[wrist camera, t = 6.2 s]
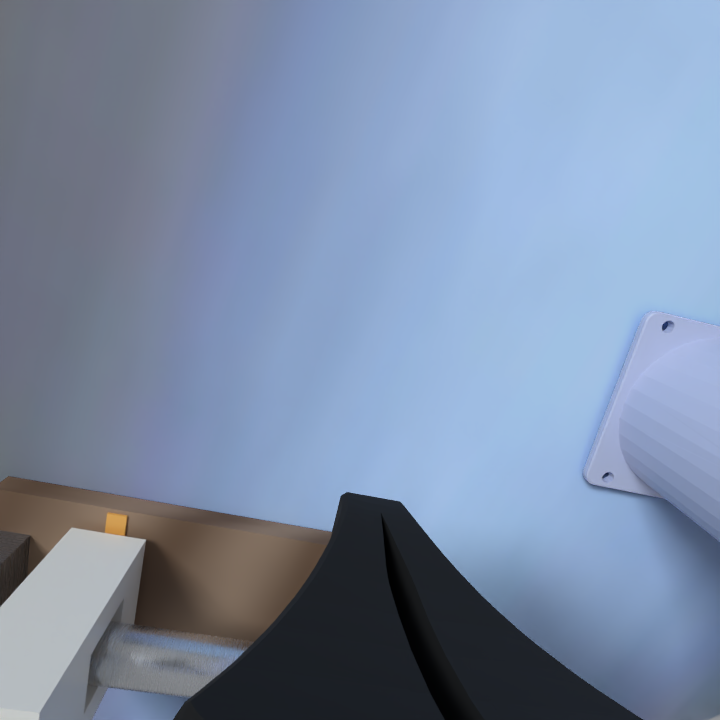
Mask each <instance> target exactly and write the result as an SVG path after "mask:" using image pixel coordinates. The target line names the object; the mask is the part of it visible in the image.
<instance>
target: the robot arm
mask: <svg viewBox="0 0 720 720" xmlns="http://www.w3.org/2000/svg"><path fill="white" fill-rule="evenodd" d="M666 321H667V322H668V326H667V328H666V329H665V330H664V331H663V330H662V325H663V324H664V322H666ZM607 472H609V474H608V476H607V477H605V478H602V476H603V475H604V474H605V473H607ZM583 476H584V478H585V479H586V480H587V481H588V482H589V483H590V484H592V485H597V486H602V487H607V488H612V489H617V490H622V491H627V492H632V493H638V494H643V495H648V496H653V497H658V498H663V499H666V500H667V501H669V502H670V503H671V504H672V505H674V506H675V507H676V508H677V509H679V510H680V511H681V512H682V513H684V514H685V515H686V516H687V517H689V518H690V519H691V520H692V521H694V522H695V523H696V524H697V525H699V526H700V527H701V528H703V529H704V530H705V531H706V532H708V533H709V534H710V535H711V536H713V537H714V538H715V539H716V540H718V541H719V542H720V326H716V325H712V324H708V323H703V322H699V321H695V320H691V319H687V318H683V317H679V316H675V315H671V314H666V313H662V312H658V311H650V312H647V313H646V314H645V315H644V316H643V317H642V319H641V321H640V324H639V326H638V329H637V331H636V334H635V337H634V339H633V342H632V344H631V347H630V350H629V352H628V355H627V357H626V360H625V363H624V365H623V368H622V370H621V373H620V376H619V378H618V381H617V383H616V386H615V389H614V391H613V394H612V396H611V399H610V402H609V404H608V407H607V410H606V412H605V415H604V417H603V420H602V423H601V425H600V428H599V430H598V433H597V436H596V438H595V441H594V443H593V446H592V449H591V451H590V454H589V456H588V459H587V462H586V464H585V467H584V469H583ZM173 720H643V719H641V718H640V717H638V716H636V715H635V714H633V713H632V712H630V711H629V710H627V709H626V708H624V707H623V706H621V705H620V704H618V703H617V702H615V701H614V700H612V699H611V698H609V697H608V696H606V695H605V694H603V693H601V692H600V691H598V690H597V689H596V688H594V687H593V686H591V685H590V684H588V683H587V682H586V681H584V680H583V679H581V678H580V677H579V676H577V675H576V674H574V673H573V672H572V671H570V670H569V669H568V668H566V667H565V666H564V665H562V664H561V663H560V662H558V661H557V660H556V659H555V658H553V657H552V656H551V655H549V654H548V653H547V652H545V651H544V650H543V649H542V648H540V647H539V646H538V645H536V644H535V643H534V642H533V641H532V640H530V639H529V638H528V637H527V636H525V635H524V634H523V633H522V632H521V631H520V630H518V629H517V628H516V627H515V626H514V625H513V624H512V623H511V622H509V621H508V620H507V619H506V618H505V617H504V616H503V615H502V614H501V613H499V612H498V611H497V610H496V609H495V608H494V607H493V606H492V605H491V604H490V603H489V602H488V601H487V600H486V599H484V598H483V597H482V596H481V595H480V594H479V593H478V592H477V590H476V589H475V588H474V587H473V586H472V585H471V584H470V583H469V582H468V581H467V580H466V579H465V578H464V577H463V576H462V575H461V574H460V573H459V572H458V570H457V569H456V568H455V567H454V566H453V565H452V564H451V563H450V561H449V560H448V559H447V558H446V557H445V556H444V555H443V553H442V552H441V551H440V550H439V549H438V547H437V546H436V545H435V544H434V543H433V541H432V540H431V539H430V538H429V537H428V535H427V534H426V533H425V532H424V530H423V529H422V528H421V527H420V525H419V524H418V523H417V522H416V520H415V519H414V518H413V517H412V515H411V514H410V513H409V512H408V510H407V509H406V508H405V507H404V506H403V504H402V503H401V502H399V501H393V500H388V499H382V498H377V497H371V496H365V495H360V494H354V493H349V492H347V493H345V494H343V495H342V496H341V498H340V502H339V506H338V510H337V514H336V518H335V522H334V526H333V530H332V535H331V538H330V541H329V543H328V545H327V546H326V548H325V550H324V552H323V554H322V555H321V557H320V559H319V561H318V562H317V564H316V566H315V568H314V569H313V571H312V572H311V574H310V575H309V577H308V578H307V580H306V581H305V583H304V584H303V586H302V587H301V588H300V590H299V591H298V593H297V594H296V595H295V597H294V598H293V599H292V600H291V602H290V603H289V604H288V605H287V606H286V608H285V609H284V610H283V611H282V613H281V614H280V615H279V616H278V617H277V619H276V620H275V621H274V622H273V623H272V624H271V625H270V626H269V627H268V629H267V630H266V631H265V632H264V633H263V634H262V635H261V636H260V637H259V638H258V639H257V640H256V641H255V642H254V643H253V644H252V645H251V646H250V647H249V648H247V649H246V650H245V651H244V652H243V653H242V654H241V655H240V656H239V657H238V658H237V659H236V660H235V661H234V662H233V663H232V664H231V665H230V666H228V667H227V668H226V669H225V670H224V671H222V672H221V673H220V674H219V675H218V676H216V677H215V678H214V679H213V680H211V681H210V682H209V683H208V684H207V685H205V686H204V687H203V688H202V689H200V690H199V691H198V692H197V693H196V694H194V695H193V696H192V697H191V698H189V699H188V700H187V701H186V702H185V703H184V704H183V706H182V707H181V709H180V710H179V712H178V713H177V715H176V716H175V718H174V719H173Z"/></svg>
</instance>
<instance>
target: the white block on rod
mask: <svg viewBox="0 0 720 720" xmlns="http://www.w3.org/2000/svg"><path fill="white" fill-rule="evenodd" d="M145 544H146V540H145V539H139V538H133V537H127V536H120V535H114V534H108V533H102V532H96V531H90V530H84V529H78V528H71V529H70V530H69V531H68V532H67V533H66V534H65V535H64V536H63V538H62V539H61V540H60V541H59V542H58V543H57V544H56V545H55V546H54V548H53V549H52V550H51V551H50V552H49V553H48V554H47V555H46V557H45V558H44V559H43V560H42V561H41V562H40V563H39V564H38V565H37V567H36V568H35V569H34V570H33V571H32V572H31V573H30V574H29V575H28V577H27V578H26V579H25V580H24V581H23V582H22V583H21V584H20V586H19V587H18V588H17V589H16V590H15V591H14V592H13V593H12V594H11V596H10V597H9V598H8V599H7V600H6V601H5V602H4V603H3V604H2V606H1V607H0V720H92V719H93V717H94V715H95V713H96V711H97V709H98V707H99V705H100V703H101V701H102V699H103V697H104V695H105V693H106V691H107V689H108V687H100V686H92V685H87V683H88V675H89V667H90V658H91V654H92V652H93V650H94V649H95V647H96V645H97V643H98V642H99V640H100V638H101V637H102V635H103V633H104V631H105V630H106V628H107V626H108V624H109V623H110V621H113V622H120V623H127V624H134V621H135V614H136V607H137V600H138V593H139V586H140V579H141V572H142V565H143V558H144V551H145Z"/></svg>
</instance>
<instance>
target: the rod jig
mask: <svg viewBox="0 0 720 720" xmlns="http://www.w3.org/2000/svg"><path fill="white" fill-rule="evenodd" d="M71 528H78V529H84V530H90V531H96V532H102V533H108V534H114V535H120V536H127V537H133V538H139V539H145V540H146V544H145V551H144V558H143V565H142V572H141V579H140V586H139V593H138V600H137V607H136V614H135V621H134V624H127V623H120V622H113V621H110V623H109V624H108V626H107V628H106V630H105V631H104V633H103V635H102V637H101V638H100V640H99V642H98V643H97V645H96V647H95V649H94V650H93V652H92V654H91V658H90V667H89V675H88V683H87V685H92V686H100V687H108V688H116V689H124V690H131V691H139V692H147V693H155V694H162V695H170V696H178V697H186V698H191V697H192V696H193V695H194V694H196V693H197V692H198V691H199V690H200V689H202V688H203V687H204V686H205V685H207V684H208V683H209V682H210V681H211V680H213V679H214V678H215V677H216V676H218V675H219V674H220V673H221V672H222V671H224V670H225V669H226V668H227V667H228V666H230V665H231V664H232V663H233V662H234V661H235V660H236V659H237V658H238V657H239V656H240V655H241V654H242V653H243V652H244V651H245V650H246V649H247V648H249V647H250V646H251V645H252V644H253V643H254V642H255V641H256V640H257V639H258V638H259V637H260V636H261V635H262V634H263V633H264V632H265V631H266V630H267V629H268V627H269V626H270V625H271V624H272V623H273V622H274V621H275V620H276V619H277V617H278V616H279V615H280V614H281V613H282V611H283V610H284V609H285V608H286V606H287V605H288V604H289V603H290V602H291V600H292V599H293V598H294V597H295V595H296V594H297V593H298V591H299V590H300V588H301V587H302V586H303V584H304V583H305V581H306V580H307V578H308V577H309V575H310V574H311V572H312V571H313V569H314V568H315V566H316V564H317V562H318V561H319V559H320V557H321V555H322V554H323V552H324V550H325V548H326V546H327V545H328V543H329V541H330V538H331V535H332V532H329V531H323V530H317V529H311V528H305V527H300V526H294V525H288V524H282V523H276V522H271V521H265V520H259V519H253V518H247V517H242V516H236V515H230V514H224V513H218V512H213V511H207V510H201V509H195V508H189V507H184V506H178V505H172V504H166V503H160V502H155V501H149V500H143V499H137V498H131V497H126V496H120V495H114V494H108V493H102V492H97V491H91V490H85V489H79V488H73V487H68V486H62V485H56V484H50V483H44V482H39V481H33V480H27V479H21V478H15V477H10V476H8V477H7V478H6V479H4V480H3V481H1V482H0V607H1V606H2V604H3V603H4V602H5V601H6V600H7V599H8V598H9V597H10V596H11V594H12V593H13V592H14V591H15V590H16V589H17V588H18V587H19V586H20V584H21V583H22V582H23V581H24V580H25V579H26V578H27V577H28V575H29V574H30V573H31V572H32V571H33V570H34V569H35V568H36V567H37V565H38V564H39V563H40V562H41V561H42V560H43V559H44V558H45V557H46V555H47V554H48V553H49V552H50V551H51V550H52V549H53V548H54V546H55V545H56V544H57V543H58V542H59V541H60V540H61V539H62V538H63V536H64V535H65V534H66V533H67V532H68V531H69V530H70V529H71Z"/></svg>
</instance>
